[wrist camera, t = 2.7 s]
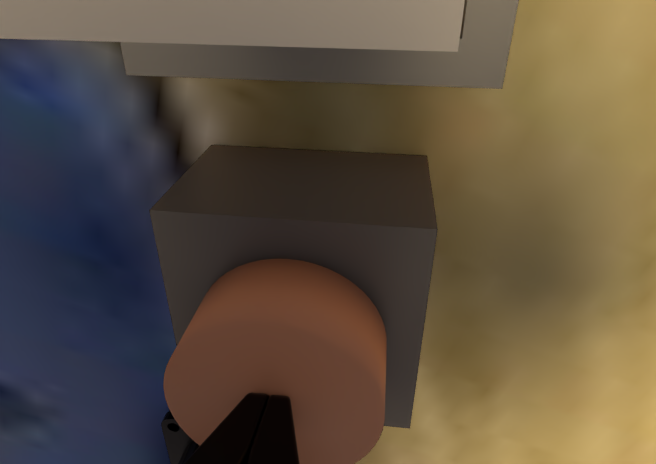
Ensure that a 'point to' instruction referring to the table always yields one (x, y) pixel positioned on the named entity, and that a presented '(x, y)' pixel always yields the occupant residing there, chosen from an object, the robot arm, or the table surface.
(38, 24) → the beige block
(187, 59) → the collar
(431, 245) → the button housing
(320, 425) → the release button
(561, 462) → the table surface
